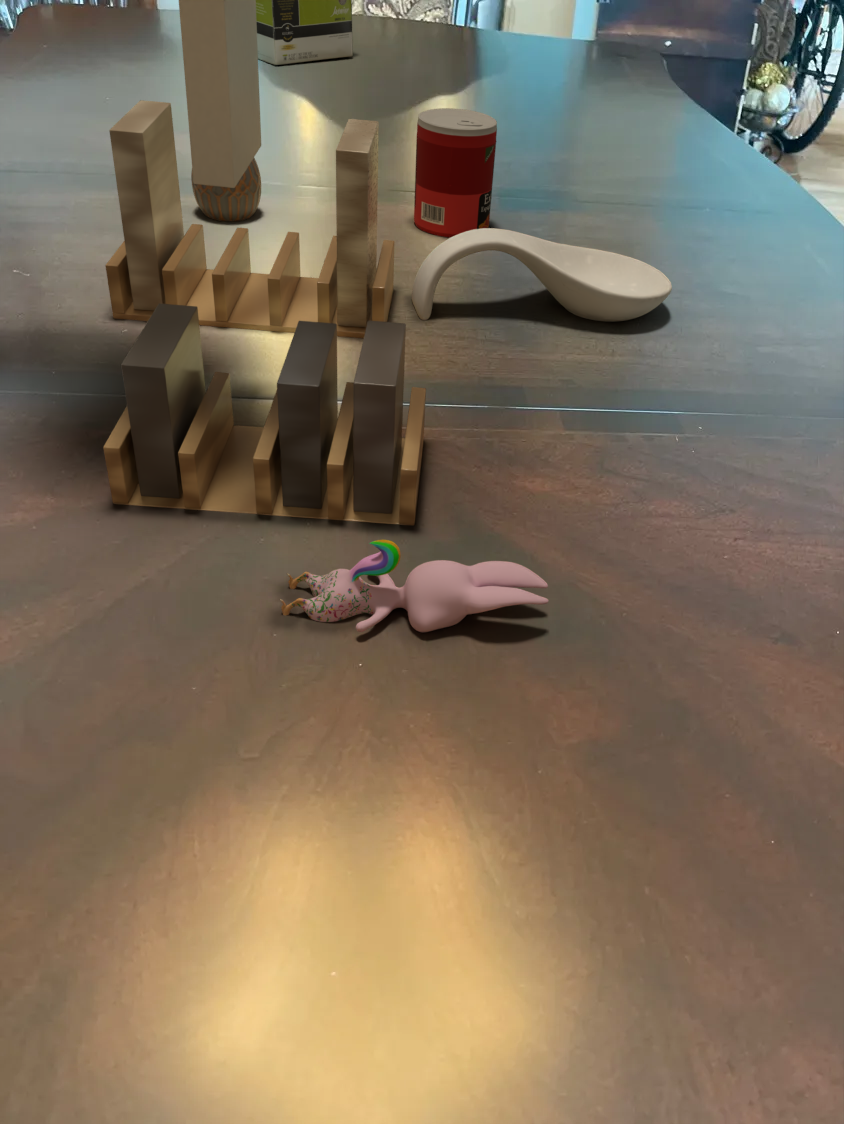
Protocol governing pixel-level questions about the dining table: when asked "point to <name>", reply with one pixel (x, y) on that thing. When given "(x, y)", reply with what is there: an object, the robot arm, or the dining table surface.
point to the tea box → (303, 30)
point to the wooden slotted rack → (242, 243)
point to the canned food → (454, 170)
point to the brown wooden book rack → (268, 429)
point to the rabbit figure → (416, 590)
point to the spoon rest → (555, 274)
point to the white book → (221, 87)
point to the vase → (231, 197)
